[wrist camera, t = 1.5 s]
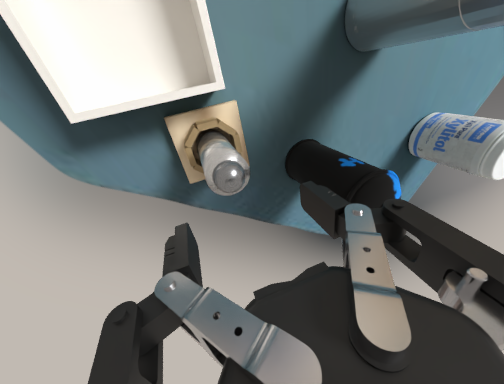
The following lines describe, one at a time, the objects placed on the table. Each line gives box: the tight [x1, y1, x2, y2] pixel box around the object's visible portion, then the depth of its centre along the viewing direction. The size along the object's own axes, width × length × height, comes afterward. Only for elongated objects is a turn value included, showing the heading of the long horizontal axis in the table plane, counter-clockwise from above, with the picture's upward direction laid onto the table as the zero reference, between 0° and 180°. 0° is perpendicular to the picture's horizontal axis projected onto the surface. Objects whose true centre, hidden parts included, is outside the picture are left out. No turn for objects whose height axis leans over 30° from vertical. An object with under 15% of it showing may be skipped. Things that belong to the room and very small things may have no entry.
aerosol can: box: [285, 139, 401, 209], centre depth 29 cm, size 8×8×20 cm
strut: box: [196, 129, 250, 196], centre depth 23 cm, size 5×5×14 cm
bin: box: [0, 0, 225, 124], centre depth 19 cm, size 16×16×6 cm
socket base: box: [164, 100, 250, 184], centre depth 29 cm, size 10×10×4 cm
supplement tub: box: [409, 113, 504, 180], centre depth 38 cm, size 10×10×15 cm
